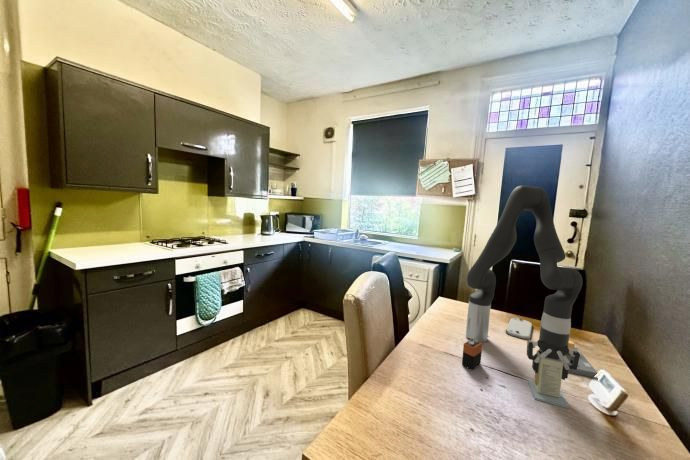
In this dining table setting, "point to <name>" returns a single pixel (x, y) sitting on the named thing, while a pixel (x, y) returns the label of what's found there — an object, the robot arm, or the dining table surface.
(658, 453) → the dining table surface
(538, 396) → the mat
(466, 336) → the robot arm
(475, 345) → the battery
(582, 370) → the switch panel
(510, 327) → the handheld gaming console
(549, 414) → the dining table surface
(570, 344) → the slider tab
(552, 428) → the dining table surface
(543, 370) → the skincare box
